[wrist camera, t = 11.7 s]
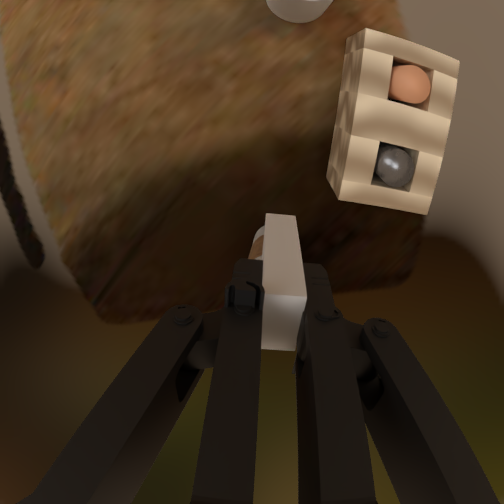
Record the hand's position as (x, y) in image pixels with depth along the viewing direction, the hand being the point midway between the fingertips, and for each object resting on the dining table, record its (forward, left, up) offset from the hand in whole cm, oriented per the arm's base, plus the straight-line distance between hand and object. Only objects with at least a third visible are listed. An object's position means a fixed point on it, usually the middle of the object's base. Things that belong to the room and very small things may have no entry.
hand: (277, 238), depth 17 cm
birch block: (-6, +14, -28) cm, 32 cm away
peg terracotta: (-11, +14, -27) cm, 32 cm away
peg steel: (-1, +14, -27) cm, 31 cm away
